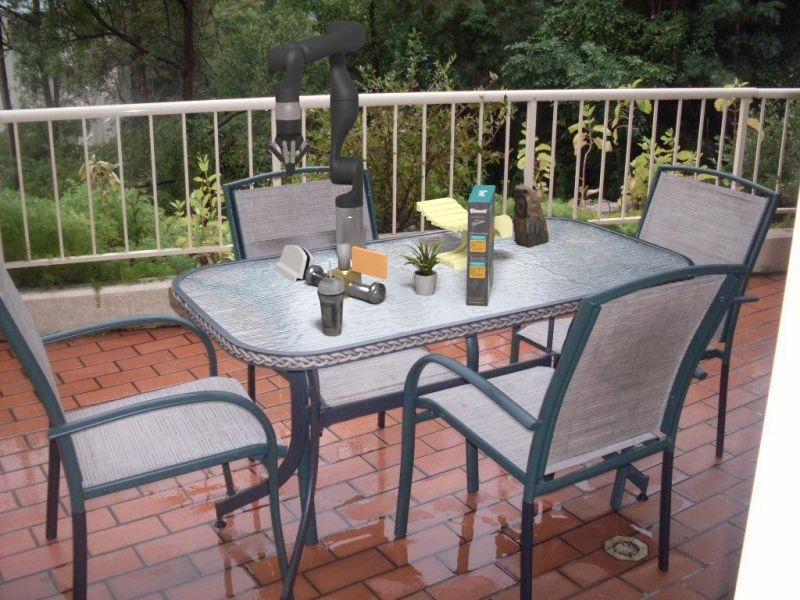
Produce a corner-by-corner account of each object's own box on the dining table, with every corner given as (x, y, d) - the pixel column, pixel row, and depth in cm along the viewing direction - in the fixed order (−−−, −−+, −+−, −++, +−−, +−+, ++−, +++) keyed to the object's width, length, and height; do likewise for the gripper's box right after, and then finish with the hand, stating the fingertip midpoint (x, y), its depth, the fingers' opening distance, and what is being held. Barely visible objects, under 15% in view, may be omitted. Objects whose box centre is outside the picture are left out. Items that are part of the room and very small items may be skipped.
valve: (321, 281, 284) (320, 257, 282) (387, 300, 266) (387, 275, 264) (304, 286, 279) (303, 262, 277) (370, 306, 261) (370, 281, 259)
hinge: (273, 268, 297) (281, 238, 295) (286, 271, 299) (294, 241, 298) (294, 282, 283) (303, 251, 281) (308, 285, 286) (316, 254, 284)
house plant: (422, 281, 283) (422, 229, 278) (459, 290, 275) (460, 236, 269) (392, 293, 273) (392, 239, 267) (430, 302, 264) (430, 247, 259)
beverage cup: (346, 327, 245) (344, 255, 239) (346, 337, 238) (344, 263, 232) (319, 328, 245) (316, 255, 239) (317, 338, 238) (315, 264, 232)
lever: (335, 267, 270) (334, 244, 268) (344, 265, 272) (343, 241, 270) (381, 281, 258) (381, 256, 255) (390, 278, 260) (390, 253, 258)
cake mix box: (473, 281, 282) (474, 184, 272) (492, 282, 281) (495, 185, 272) (466, 305, 262) (467, 201, 252) (487, 306, 261) (490, 202, 251)
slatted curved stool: (511, 267, 296) (512, 213, 290) (471, 276, 288) (472, 220, 282) (454, 246, 320) (455, 196, 314) (416, 254, 311) (416, 202, 305)
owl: (528, 249, 316) (530, 191, 310) (499, 242, 325) (501, 186, 318) (550, 241, 325) (553, 185, 318) (522, 235, 333) (524, 180, 327)
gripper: (264, 119, 268) (267, 178, 274) (310, 118, 269) (312, 177, 274) (266, 115, 275) (269, 173, 281) (311, 115, 276) (313, 172, 281)
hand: (290, 175), depth 278 cm, fingers closed
